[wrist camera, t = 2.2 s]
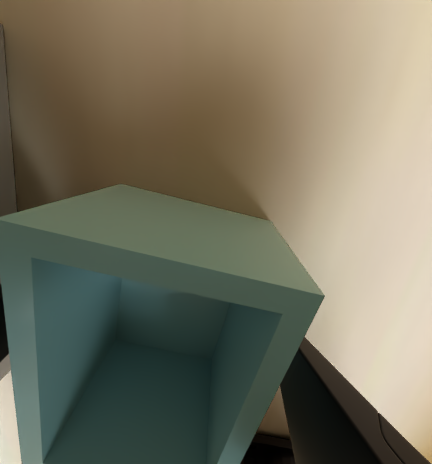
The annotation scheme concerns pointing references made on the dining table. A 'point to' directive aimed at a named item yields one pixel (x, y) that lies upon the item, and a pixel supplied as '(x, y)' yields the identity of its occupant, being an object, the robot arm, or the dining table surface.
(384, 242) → the dining table surface
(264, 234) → the teal crate
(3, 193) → the grey crate
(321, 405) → the robot arm
